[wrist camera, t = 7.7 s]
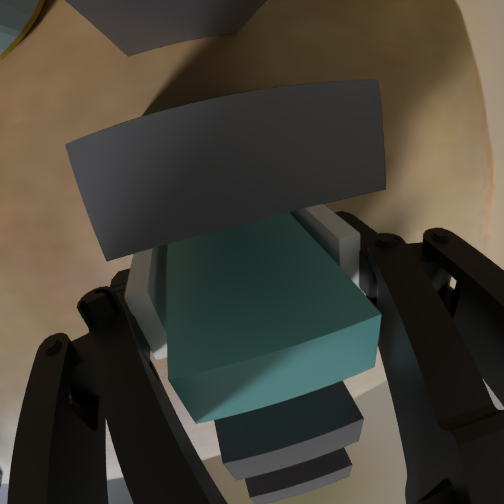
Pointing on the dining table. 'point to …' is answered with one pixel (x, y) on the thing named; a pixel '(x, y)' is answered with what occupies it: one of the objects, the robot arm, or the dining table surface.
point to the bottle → (16, 21)
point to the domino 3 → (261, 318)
